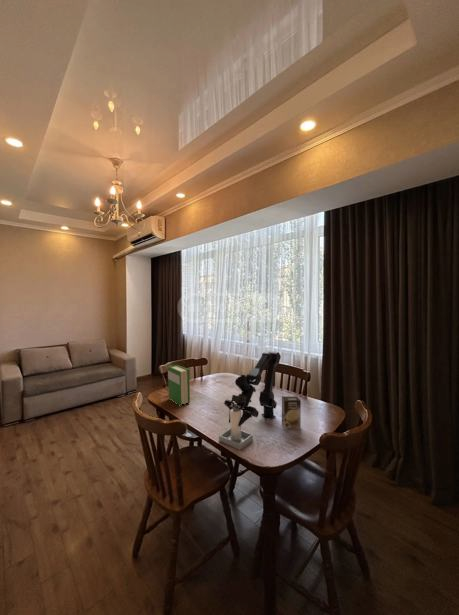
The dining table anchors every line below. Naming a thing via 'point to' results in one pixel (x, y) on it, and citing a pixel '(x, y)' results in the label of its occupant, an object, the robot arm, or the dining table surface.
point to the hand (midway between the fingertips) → (234, 424)
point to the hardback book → (178, 384)
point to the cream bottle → (235, 424)
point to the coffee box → (291, 412)
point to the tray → (237, 445)
